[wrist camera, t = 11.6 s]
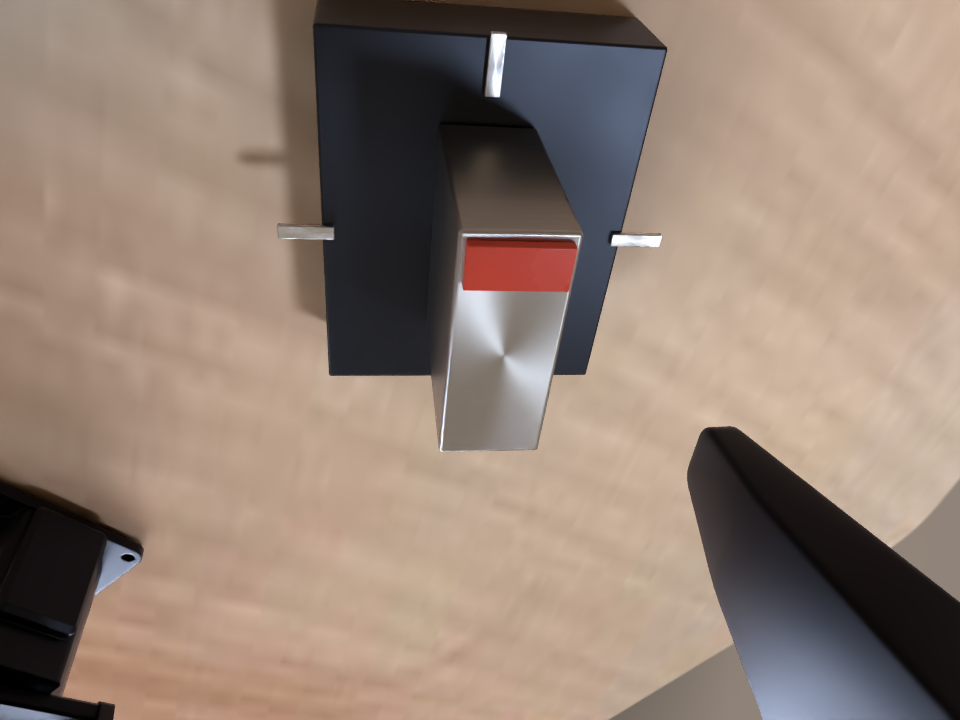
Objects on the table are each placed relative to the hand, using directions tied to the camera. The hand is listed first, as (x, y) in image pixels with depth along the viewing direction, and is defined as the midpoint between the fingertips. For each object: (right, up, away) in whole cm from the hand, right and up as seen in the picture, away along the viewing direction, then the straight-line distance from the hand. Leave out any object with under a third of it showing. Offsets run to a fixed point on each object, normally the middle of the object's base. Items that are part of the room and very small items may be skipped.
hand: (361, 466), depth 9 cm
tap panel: (+1, +6, +12) cm, 13 cm away
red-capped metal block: (+1, +5, +10) cm, 11 cm away
